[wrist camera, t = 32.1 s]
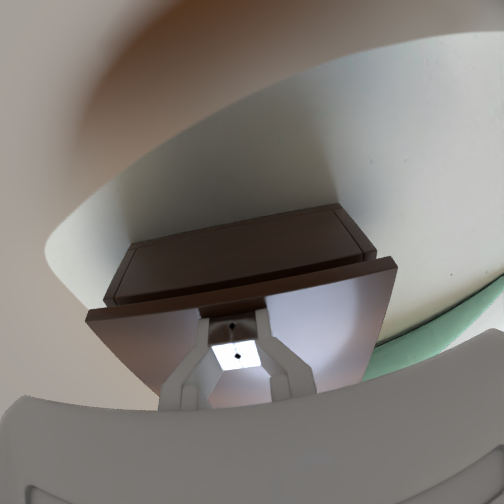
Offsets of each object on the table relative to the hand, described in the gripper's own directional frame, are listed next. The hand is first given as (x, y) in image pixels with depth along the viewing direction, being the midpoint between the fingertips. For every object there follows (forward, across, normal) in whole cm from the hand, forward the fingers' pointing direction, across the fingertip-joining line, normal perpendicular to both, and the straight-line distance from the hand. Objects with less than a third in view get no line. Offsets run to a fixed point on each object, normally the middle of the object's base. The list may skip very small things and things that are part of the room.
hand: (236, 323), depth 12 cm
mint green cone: (+8, -20, +16) cm, 27 cm away
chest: (+8, 0, +6) cm, 10 cm away
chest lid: (+1, 0, +6) cm, 6 cm away
